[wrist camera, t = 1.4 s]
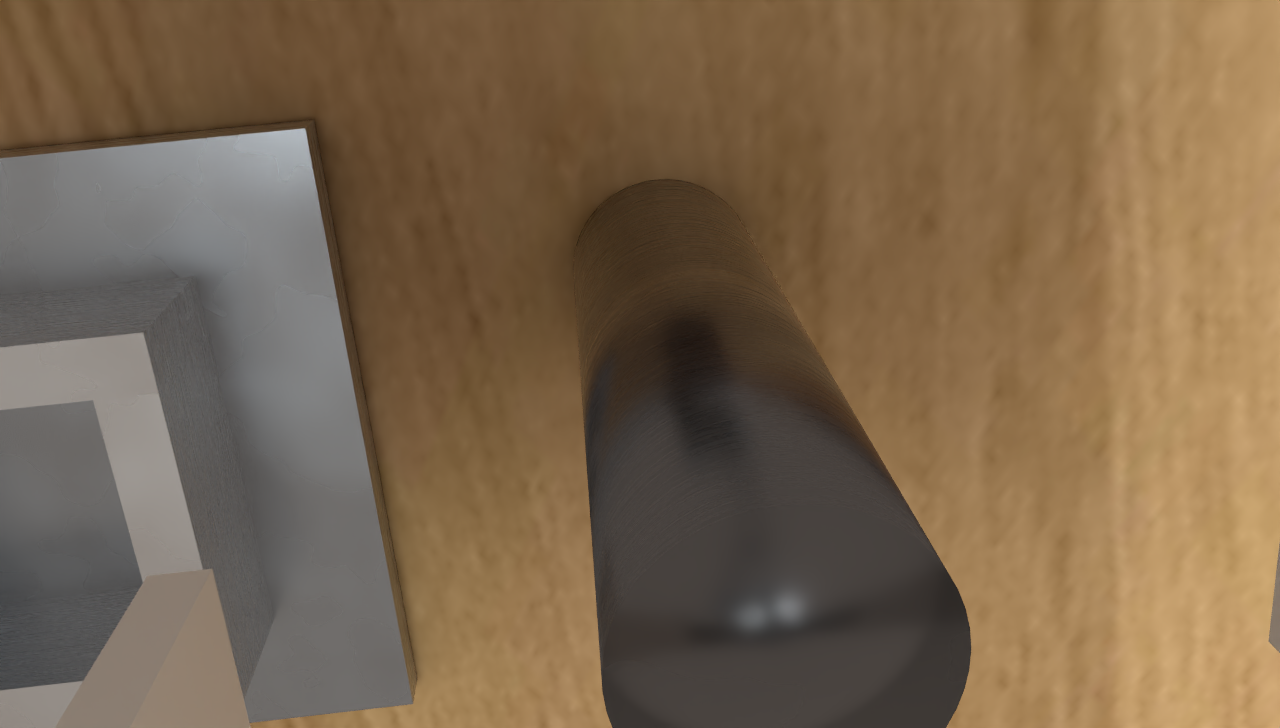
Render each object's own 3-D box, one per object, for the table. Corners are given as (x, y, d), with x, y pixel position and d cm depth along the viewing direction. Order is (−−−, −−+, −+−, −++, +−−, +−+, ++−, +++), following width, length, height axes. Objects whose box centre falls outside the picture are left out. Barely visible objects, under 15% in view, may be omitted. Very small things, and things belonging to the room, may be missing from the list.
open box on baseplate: (-374, 187, 25) (-562, 247, 21) (314, 119, 25) (267, 164, 21) (-108, 855, 31) (-209, 1004, 27) (437, 790, 32) (420, 927, 28)
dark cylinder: (563, 189, 26) (583, 527, 12) (747, 170, 26) (973, 483, 12) (583, 361, 28) (619, 837, 14) (757, 342, 28) (968, 796, 14)
